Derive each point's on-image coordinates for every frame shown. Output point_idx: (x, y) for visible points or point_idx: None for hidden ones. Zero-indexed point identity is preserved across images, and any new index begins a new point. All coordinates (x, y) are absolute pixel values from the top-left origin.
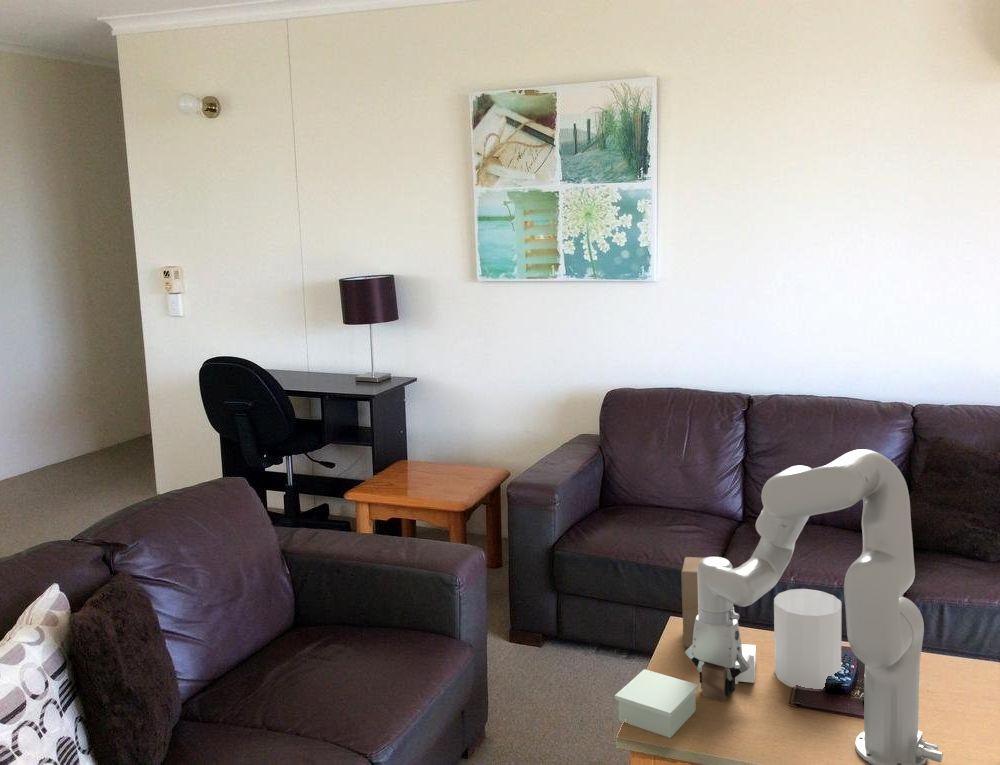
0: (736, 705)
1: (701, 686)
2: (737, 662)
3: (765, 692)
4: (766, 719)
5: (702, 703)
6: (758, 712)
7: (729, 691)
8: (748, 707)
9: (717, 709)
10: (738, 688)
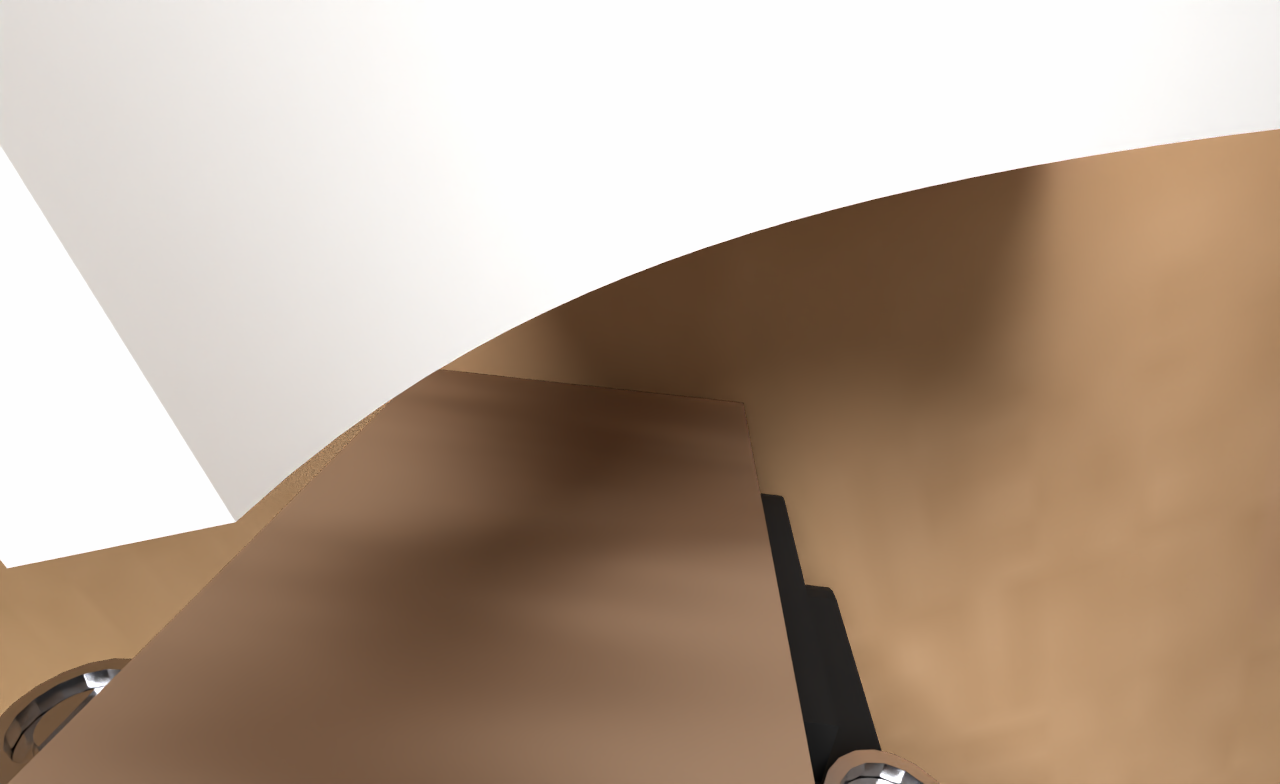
0: (860, 658)
1: None
2: (810, 25)
3: (1261, 226)
4: (1216, 771)
5: None
6: (1127, 697)
7: None
8: (1003, 651)
9: None
10: (804, 290)
